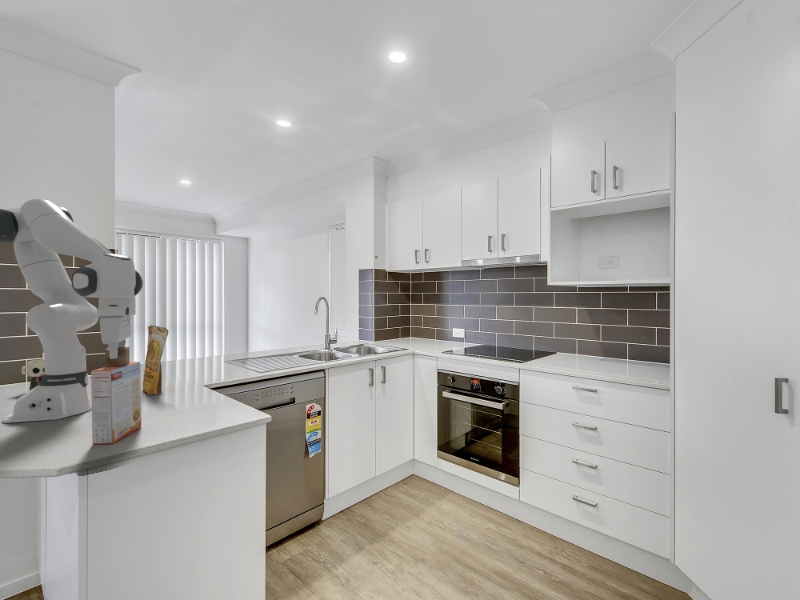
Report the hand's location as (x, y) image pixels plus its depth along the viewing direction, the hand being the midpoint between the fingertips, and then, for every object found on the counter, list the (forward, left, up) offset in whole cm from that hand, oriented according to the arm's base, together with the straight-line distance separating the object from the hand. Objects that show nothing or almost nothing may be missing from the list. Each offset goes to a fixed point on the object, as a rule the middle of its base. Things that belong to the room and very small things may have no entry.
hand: (117, 356), depth 114 cm
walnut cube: (0, 0, -3) cm, 3 cm away
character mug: (-41, +78, -24) cm, 91 cm away
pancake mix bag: (+3, +57, -24) cm, 62 cm away
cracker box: (0, 0, -24) cm, 24 cm away
